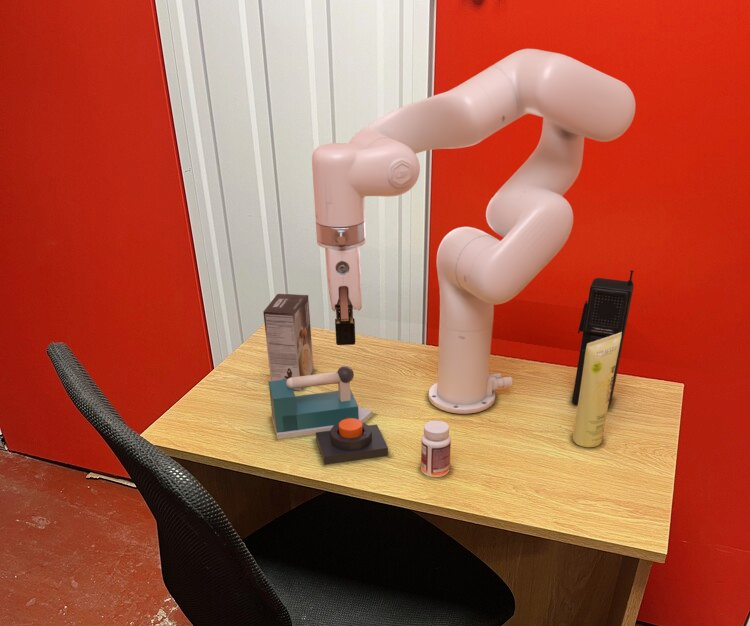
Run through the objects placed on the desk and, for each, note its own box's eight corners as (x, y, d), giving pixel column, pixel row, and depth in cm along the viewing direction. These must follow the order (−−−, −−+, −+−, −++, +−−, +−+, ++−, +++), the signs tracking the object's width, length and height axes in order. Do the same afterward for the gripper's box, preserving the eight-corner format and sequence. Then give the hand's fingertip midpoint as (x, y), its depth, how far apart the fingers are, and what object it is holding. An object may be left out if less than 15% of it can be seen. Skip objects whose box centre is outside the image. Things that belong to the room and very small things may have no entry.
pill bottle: (453, 466, 129) (456, 422, 124) (442, 480, 126) (445, 436, 121) (427, 459, 131) (428, 416, 126) (415, 473, 127) (416, 430, 122)
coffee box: (284, 367, 159) (277, 292, 149) (314, 370, 158) (309, 294, 148) (270, 388, 152) (262, 310, 142) (302, 391, 151) (295, 313, 141)
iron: (368, 405, 146) (367, 354, 140) (377, 425, 140) (376, 373, 134) (272, 418, 143) (266, 366, 136) (277, 439, 137) (272, 386, 130)
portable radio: (565, 404, 145) (585, 273, 130) (571, 389, 150) (591, 262, 135) (608, 411, 143) (633, 279, 128) (613, 396, 147) (637, 267, 132)
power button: (359, 425, 134) (359, 416, 133) (364, 437, 131) (364, 428, 130) (337, 428, 133) (336, 419, 132) (341, 440, 130) (341, 431, 129)
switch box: (376, 432, 138) (376, 415, 136) (387, 456, 132) (387, 438, 130) (316, 440, 136) (314, 423, 134) (324, 465, 130) (323, 447, 128)
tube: (600, 452, 132) (620, 346, 120) (569, 447, 133) (586, 342, 122) (602, 435, 136) (622, 331, 125) (573, 431, 137) (590, 328, 126)
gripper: (367, 247, 113) (370, 362, 124) (363, 216, 125) (366, 323, 136) (315, 249, 113) (323, 364, 124) (316, 218, 125) (323, 325, 136)
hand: (345, 342), depth 130 cm, fingers closed
